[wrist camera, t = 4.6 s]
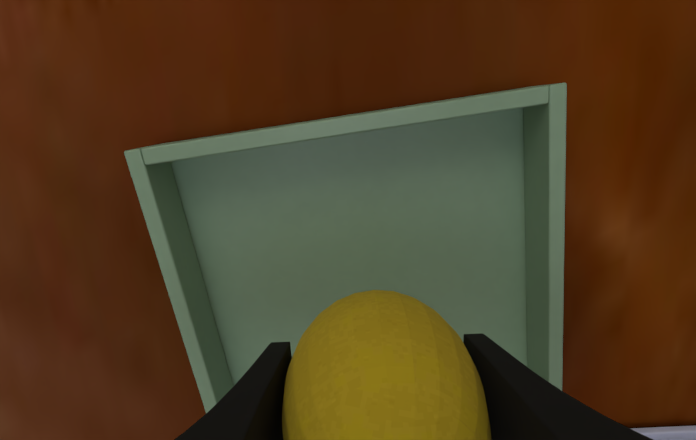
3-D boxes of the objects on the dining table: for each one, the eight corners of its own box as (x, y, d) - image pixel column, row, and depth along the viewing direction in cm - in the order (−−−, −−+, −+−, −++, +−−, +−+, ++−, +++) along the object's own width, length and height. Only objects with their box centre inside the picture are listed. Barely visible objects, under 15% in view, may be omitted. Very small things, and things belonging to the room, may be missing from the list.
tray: (532, 86, 15) (567, 82, 13) (535, 401, 19) (562, 441, 17) (155, 144, 15) (122, 151, 13) (241, 439, 20) (227, 483, 17)
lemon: (293, 373, 15) (242, 640, 8) (308, 244, 14) (262, 417, 6) (428, 388, 16) (509, 661, 8) (457, 263, 14) (595, 452, 6)
